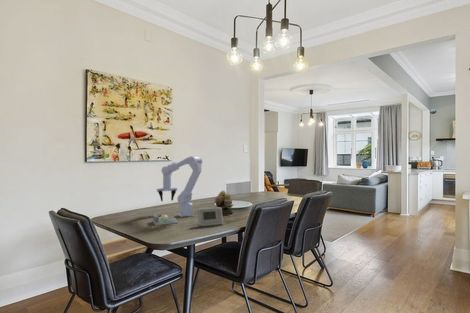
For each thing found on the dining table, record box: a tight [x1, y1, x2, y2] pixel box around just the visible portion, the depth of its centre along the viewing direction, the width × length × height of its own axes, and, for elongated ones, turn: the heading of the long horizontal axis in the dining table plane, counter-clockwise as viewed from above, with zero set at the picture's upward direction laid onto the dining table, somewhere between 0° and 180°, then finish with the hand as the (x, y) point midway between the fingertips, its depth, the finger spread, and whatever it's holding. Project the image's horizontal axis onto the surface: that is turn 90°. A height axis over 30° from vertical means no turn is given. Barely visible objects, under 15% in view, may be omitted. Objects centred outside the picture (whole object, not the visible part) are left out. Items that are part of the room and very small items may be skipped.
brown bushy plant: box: [214, 190, 234, 216], centre depth 220 cm, size 18×12×17 cm, turn 48°
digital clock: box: [197, 206, 224, 227], centre depth 183 cm, size 16×9×11 cm, turn 102°
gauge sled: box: [159, 214, 169, 220], centre depth 188 cm, size 5×5×4 cm
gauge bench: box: [152, 213, 179, 226], centre depth 189 cm, size 14×11×5 cm
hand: (167, 200), depth 215 cm, fingers open, 7 cm apart
